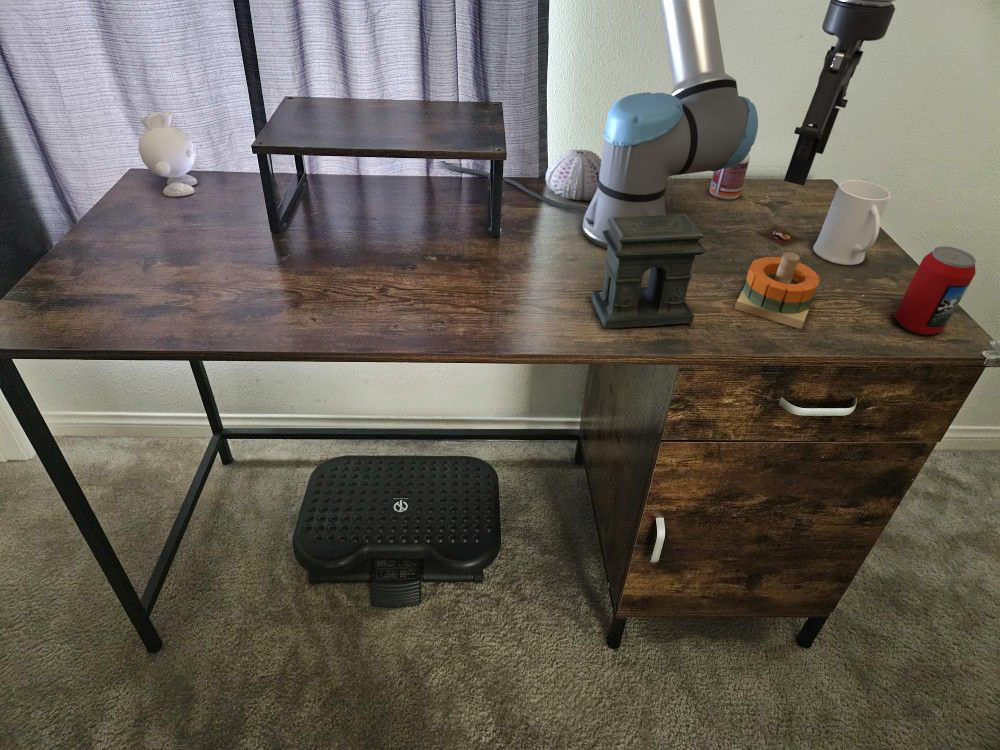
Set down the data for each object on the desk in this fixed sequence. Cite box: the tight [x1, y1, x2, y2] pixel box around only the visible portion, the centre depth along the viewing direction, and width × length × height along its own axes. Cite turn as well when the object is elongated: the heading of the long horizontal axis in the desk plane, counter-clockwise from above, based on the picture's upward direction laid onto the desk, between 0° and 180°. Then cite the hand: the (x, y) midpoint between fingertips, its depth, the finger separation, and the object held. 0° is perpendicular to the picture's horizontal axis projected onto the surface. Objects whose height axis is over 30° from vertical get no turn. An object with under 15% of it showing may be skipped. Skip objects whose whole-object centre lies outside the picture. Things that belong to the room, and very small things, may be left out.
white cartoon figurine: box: [138, 109, 198, 197], centre depth 121 cm, size 15×10×15 cm, turn 13°
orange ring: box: [745, 256, 821, 302], centre depth 99 cm, size 10×10×2 cm
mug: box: [812, 179, 892, 266], centre depth 110 cm, size 12×8×12 cm
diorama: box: [761, 227, 800, 246], centre depth 119 cm, size 3×4×2 cm
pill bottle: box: [709, 153, 751, 200], centre depth 130 cm, size 6×6×11 cm
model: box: [590, 213, 707, 329], centre depth 94 cm, size 14×9×15 cm, turn 99°
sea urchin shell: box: [545, 149, 602, 201], centre depth 130 cm, size 13×14×8 cm
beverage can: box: [894, 245, 977, 336], centre depth 95 cm, size 7×7×12 cm
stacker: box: [734, 251, 817, 330], centre depth 99 cm, size 10×10×8 cm
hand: (804, 166), depth 94 cm, fingers open, 13 cm apart
